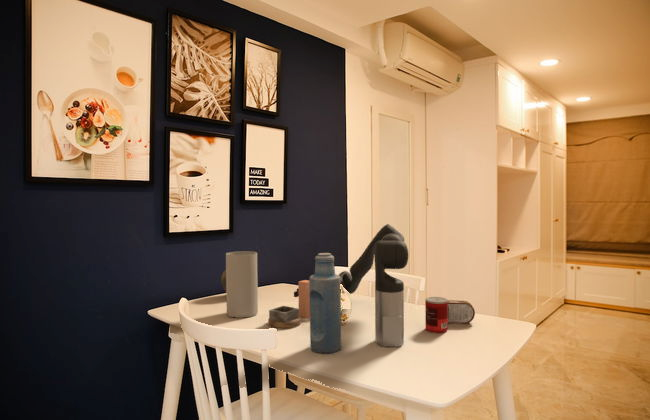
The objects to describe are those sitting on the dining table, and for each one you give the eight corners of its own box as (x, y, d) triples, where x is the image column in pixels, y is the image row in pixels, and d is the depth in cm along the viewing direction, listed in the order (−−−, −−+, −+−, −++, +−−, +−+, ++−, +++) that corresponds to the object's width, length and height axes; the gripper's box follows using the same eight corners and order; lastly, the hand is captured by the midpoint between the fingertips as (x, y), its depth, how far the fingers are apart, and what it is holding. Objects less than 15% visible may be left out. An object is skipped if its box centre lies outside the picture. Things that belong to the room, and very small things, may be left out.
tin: (473, 322, 159) (473, 300, 159) (475, 324, 156) (475, 302, 156) (433, 321, 161) (433, 299, 161) (434, 323, 158) (434, 301, 157)
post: (312, 315, 170) (312, 281, 169) (306, 317, 166) (306, 282, 166) (304, 314, 172) (304, 279, 171) (298, 316, 169) (298, 281, 168)
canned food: (447, 327, 153) (447, 297, 153) (447, 334, 145) (447, 302, 145) (425, 325, 155) (425, 296, 155) (425, 332, 147) (425, 301, 147)
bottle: (347, 348, 132) (347, 253, 131) (325, 356, 125) (324, 256, 125) (326, 341, 139) (325, 250, 138) (303, 348, 132) (303, 253, 131)
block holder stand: (306, 322, 160) (306, 308, 160) (286, 330, 150) (286, 315, 150) (282, 317, 167) (282, 303, 167) (261, 325, 157) (261, 310, 157)
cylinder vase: (235, 320, 164) (234, 256, 163) (221, 313, 173) (220, 253, 173) (263, 314, 172) (262, 253, 171) (248, 308, 181) (247, 250, 180)
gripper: (313, 278, 185) (288, 284, 171) (340, 281, 176) (317, 288, 163) (313, 295, 185) (289, 302, 172) (340, 299, 176) (317, 308, 163)
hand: (302, 296), depth 167 cm, fingers open, 8 cm apart
